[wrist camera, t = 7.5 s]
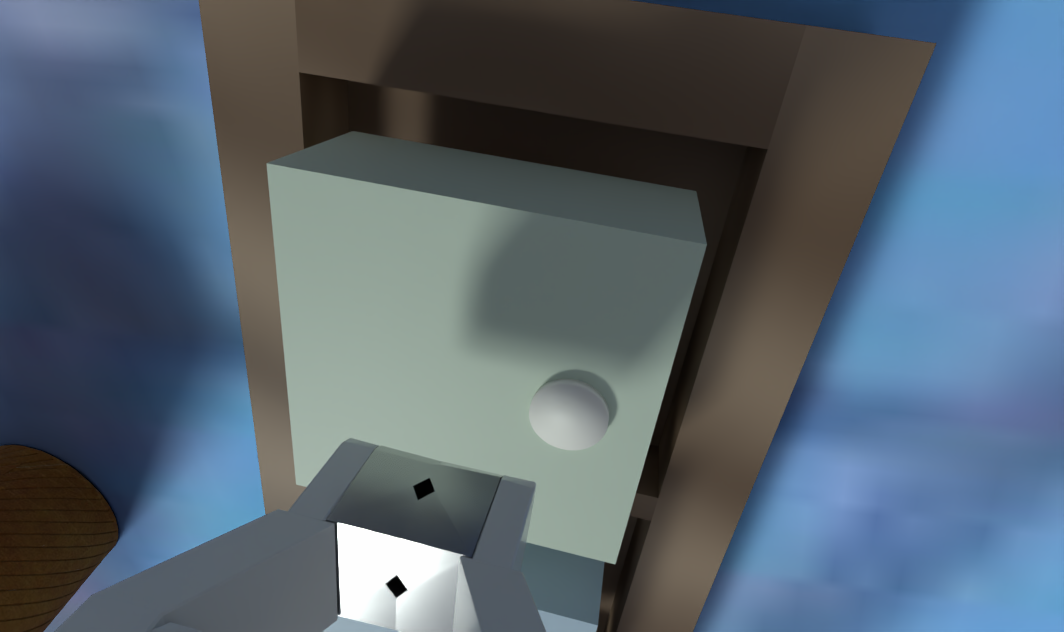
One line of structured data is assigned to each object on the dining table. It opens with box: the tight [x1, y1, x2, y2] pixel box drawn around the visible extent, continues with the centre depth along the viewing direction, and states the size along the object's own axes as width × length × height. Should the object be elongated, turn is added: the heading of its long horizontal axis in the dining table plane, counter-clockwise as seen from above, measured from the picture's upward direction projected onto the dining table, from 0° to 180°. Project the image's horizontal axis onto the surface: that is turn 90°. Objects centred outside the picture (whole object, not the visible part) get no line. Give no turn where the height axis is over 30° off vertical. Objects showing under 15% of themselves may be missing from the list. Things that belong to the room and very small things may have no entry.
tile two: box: [322, 542, 604, 632], centre depth 16 cm, size 7×7×3 cm
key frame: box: [199, 0, 936, 632], centre depth 19 cm, size 31×13×3 cm, turn 173°
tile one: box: [266, 131, 707, 564], centre depth 12 cm, size 7×7×3 cm
